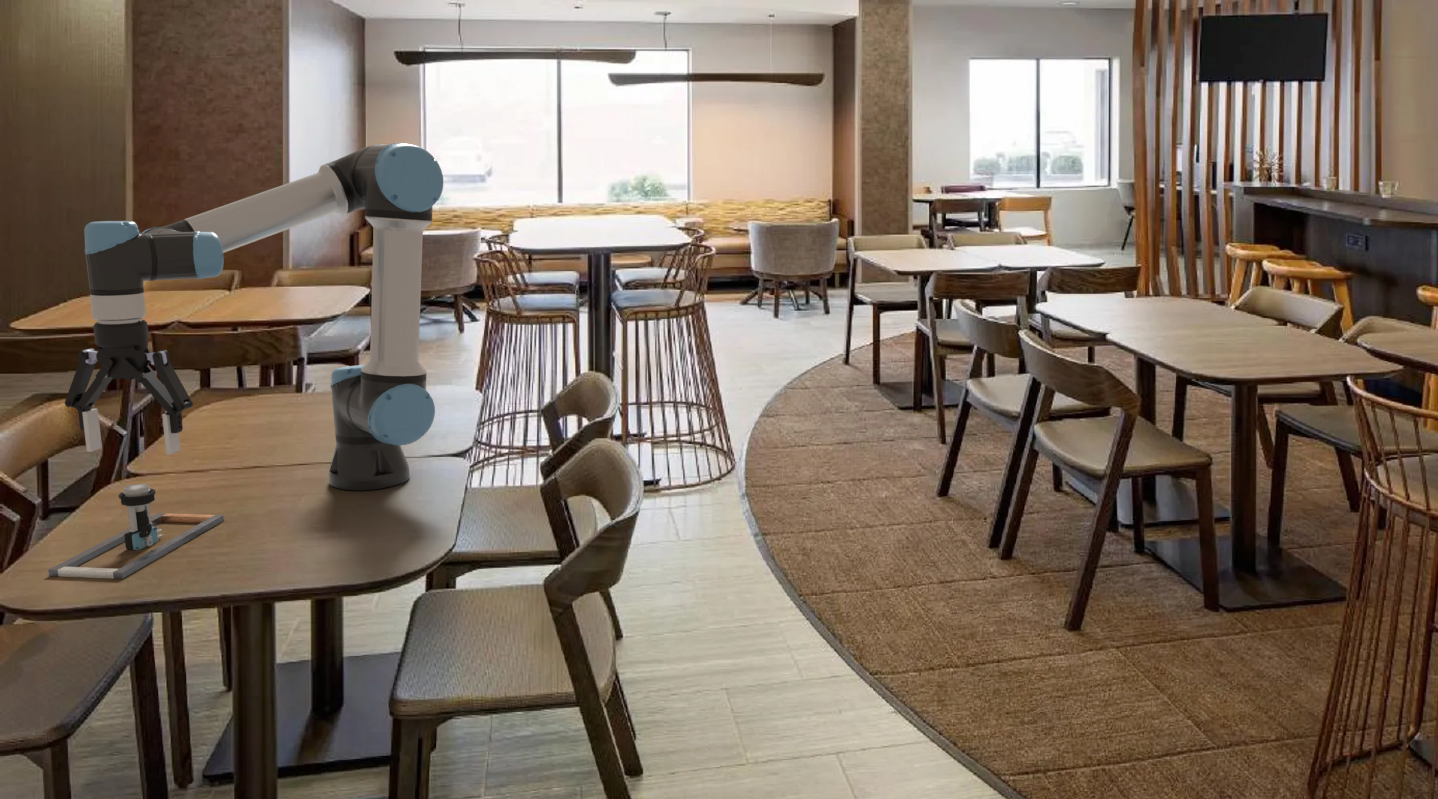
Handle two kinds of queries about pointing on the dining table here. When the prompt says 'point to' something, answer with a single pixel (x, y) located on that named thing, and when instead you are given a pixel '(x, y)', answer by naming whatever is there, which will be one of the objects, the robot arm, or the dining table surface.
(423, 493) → the dining table surface
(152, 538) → the push button
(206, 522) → the open rectangular frame
